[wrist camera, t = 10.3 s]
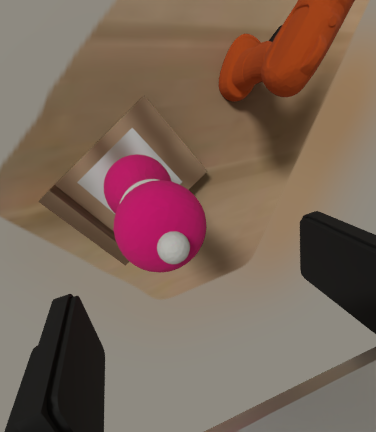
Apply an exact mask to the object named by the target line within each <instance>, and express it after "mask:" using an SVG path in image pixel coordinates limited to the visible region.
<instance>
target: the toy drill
mask: <svg viewBox="0 0 376 432" xmlns="http://www.w3.org/2000/svg"><path fill="white" fill-rule="evenodd" d="M354 1H355V0H298V2H297V3H296V5H295V7H294V8H293V10H292V11H291V13H290V14H289V16H288V17H287V19H286V21H285V22H284V24H283V25H281V26H280V27H279V28H278V29H277V30H276V32H275V33H274V34H273V36H272V37H271V39H270V40H269V41H266V42H263V43H261V42H260V41H259V40H258V39H257V38H256V37H254V36H252V35H250V34H243V35H241V36H239V37H238V38H237V39H236V40H235V41H234V42H233V44H232V45H231V47H230V49H229V51H228V53H227V55H226V57H225V60H224V62H223V65H222V69H221V72H220V77H219V90H220V92H221V94H222V96H223V97H224V98H226V99H227V100H229V101H240V100H242V99H244V98H245V97H246V96H247V95H248V94H249V93H250V92H251V90H252V89H253V87H254V85H255V84H257V83H259V82H264V84H265V86H266V88H267V89H268V90H269V91H270V92H272V93H273V94H275V95H277V96H280V97H290V96H293V95H295V94H297V93H298V92H300V91H301V90H302V89H303V88H304V86H305V85H306V84H307V82H308V81H309V80H310V78H311V77H312V76H313V74H314V73H315V71H316V70H317V68H318V66H319V65H320V63H321V61H322V60H323V58H324V56H325V55H326V53H327V51H328V49H329V48H330V46H331V44H332V42H333V40H334V38H335V36H336V34H337V33H338V31H339V29H340V27H341V25H342V23H343V21H344V19H345V17H346V15H347V14H348V12H349V10H350V8H351V6H352V4H353V2H354Z"/></svg>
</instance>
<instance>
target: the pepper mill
mask: <svg viewBox="0 0 376 432" xmlns="http://www.w3.org/2000/svg"><path fill="white" fill-rule="evenodd" d="M104 195H105V198H106V201H107V204H108V205H109V207H110V208H111V210H112V211H113V212H114V213H115V218H114V229H113V230H114V235H115V239H116V242H117V245H118V247H119V249H120V251H121V252H122V254H123V255H124V256H125V257H126V259H127V260H128V261H130V262H131V263H132V264H134V265H135V266H137V267H139V268H141V269H143V270H147V271H151V272H169V271H172V270H175V269H178V268H180V267H182V266H183V265H185V264H186V263H188V262H189V261H190V260H191V259H192V258H193V257H195V255H196V254H197V252H198V251H199V249H200V247H201V246H202V244H203V241H204V238H205V233H206V219H205V213H204V211H203V208H202V206H201V204H200V203H199V201H198V200H197V198H196V197H195V196H194V195H193V194H192V193H191V192H190V191H189V190H188V189H186V188H185V187H183V186H181V185H179V184H177V183H174V182H172V181H171V178H170V175H169V173H168V172H167V170H166V169H165V168H164V167H163V165H162V164H161V163H159V162H158V161H157V160H155V159H154V158H152V157H149V156H146V155H139V154H135V155H129V156H125V157H123V158H121V159H119V160H118V161H116V162H115V163H114V164H113V165H112V166H111V167H110V169H109V170H108V172H107V174H106V176H105V179H104Z"/></svg>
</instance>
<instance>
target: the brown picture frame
mask: <svg viewBox="0 0 376 432" xmlns="http://www.w3.org/2000/svg"><path fill="white" fill-rule="evenodd" d="M135 154H139V155H146V156H149V157H152V158H154V159H155V160H157V161H158V162H159V163H161V164H162V165H163V167H164V168H165V169H166V170H167V172H168V173H169V175H170V178H171V181H172V182H174V183H177V184H179V185H181V186H183V187H185V188H186V189H188V190H189V189H190V188H191V187H192V186H193V185H194V184H195V183H196V182H197V181H198V180H199V179H200V178H201V177H202V176H203V175H204V174H205V173H206V172H207V170H206V169H205V167H204V166H203V165H202V164H201V163H200V161H199V160H198V159H197V158H196V157H195V155H194V154H193V153H192V152H191V151H190V149H189V148H188V147H187V146H186V145H185V143H184V142H183V141H182V140H181V139H180V138H179V136H178V135H177V134H176V133H175V132H174V130H173V129H172V128H171V127H170V126H169V124H168V123H167V122H166V121H165V120H164V118H163V117H162V116H161V115H160V114H159V112H158V111H157V110H156V109H155V108H154V106H153V105H152V104H151V103H150V102H149V100H148V99H147V98H146V97H145V96H143V97H142V98H141V99H140V100H139V101H138V102H137V103H136V104H135V105H134V106H133V107H132V108H131V109H130V110H129V111H128V112H127V113H126V114H125V115H124V116H123V117H122V118H121V119H120V120H119V121H118V122H117V123H116V124H115V125H114V126H113V127H112V128H111V129H110V130H109V131H108V132H107V133H106V134H105V135H104V136H103V137H102V138H101V139H100V140H99V141H98V142H97V143H96V144H95V145H94V146H93V147H92V148H91V149H90V150H89V151H88V152H87V153H86V154H85V155H84V156H83V157H82V158H81V159H80V160H79V161H78V162H77V163H76V164H75V165H74V166H73V167H72V168H71V169H70V170H69V171H68V172H67V173H66V174H65V175H64V176H63V177H62V178H61V179H60V180H59V181H58V182H57V183H56V184H55V185H54V186H53V187H52V188H51V189H50V190H49V191H48V192H47V193H46V194H45V195H44V196H43V197H42V198H41V199H40V200H39V202H40V203H41V204H42V205H44V206H45V207H47V208H48V209H49V210H51V211H52V212H53V213H55V214H56V215H57V216H59V217H60V218H62V219H63V220H64V221H66V222H67V223H68V224H70V225H71V226H72V227H74V228H75V229H76V230H78V231H79V232H81V233H82V234H83V235H85V236H86V237H87V238H89V239H90V240H91V241H93V242H94V243H96V244H97V245H98V246H100V247H101V248H102V249H104V250H105V251H106V252H108V253H109V254H111V255H112V256H113V257H115V258H116V259H117V260H119V261H120V262H121V263H123V264H124V265H126V264H127V263H128V262H129V261H128V260H127V259H126V257H125V256H124V255H123V254H122V252H121V251H120V249H119V247H118V245H117V242H116V239H115V235H114V230H113V229H114V218H115V213H114V212H113V211H112V210H111V208H110V207H109V205H108V204H107V201H106V198H105V195H104V179H105V176H106V174H107V172H108V170H109V169H110V167H111V166H112V165H113V164H114V163H115V162H116V161H118V160H119V159H121V158H123V157H125V156H129V155H135Z"/></svg>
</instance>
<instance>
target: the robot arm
mask: <svg viewBox="0 0 376 432" xmlns="http://www.w3.org/2000/svg"><path fill="white" fill-rule="evenodd" d="M300 264H301V266H300V267H301V274H302V276H303V277H304V278H305V279H306V280H307V281H309V282H310V283H311V284H313V285H314V286H315V287H316V288H318V289H319V290H320V291H322V292H323V293H324V294H325V295H327V296H328V297H329V298H330V299H332V300H333V301H334V302H335V303H337V304H338V305H339V306H341V307H342V308H343V309H344V310H346V311H347V312H348V313H349V314H351V315H352V316H353V317H355V318H356V319H357V320H358V321H360V322H361V323H362V324H364V325H365V326H366V327H367V328H369V329H370V330H371V331H373V332H374V333H375V334H376V235H374V234H372V233H369V232H367V231H365V230H362V229H360V228H357V227H355V226H353V225H350V224H348V223H345V222H343V221H340V220H338V219H336V218H333V217H331V216H328V215H326V214H324V213H321V212H318V211H316V212H312V213H309V214H306V215H304V216H303V218H302V220H301V221H300ZM104 386H105V353H104V349H103V346H102V344H101V342H100V340H99V338H98V336H97V333H96V331H95V329H94V327H93V325H92V323H91V321H90V319H89V317H88V314H87V312H86V310H85V308H84V306H83V304H82V302H81V300H80V298H79V296H75V297H73V295H72V294H68V295H65V296H62V297H60V298H56V299H54V300H53V301H52V304H51V307H50V310H49V314H48V316H47V320H46V323H45V326H44V329H43V332H42V335H41V338H40V341H39V345H38V346H36V347H35V348H34V349H33V351H32V353H31V355H30V358H29V361H28V364H27V367H26V370H25V373H24V376H23V379H22V382H21V385H20V388H19V391H18V394H17V396H16V399H15V403H14V406H13V408H12V411H11V414H10V417H9V420H8V423H7V426H6V429H5V432H104ZM205 432H376V347H375V348H373V349H370V350H368V351H366V352H364V353H362V354H360V355H358V356H356V357H354V358H352V359H350V360H348V361H346V362H344V363H342V364H340V365H338V366H336V367H334V368H331V369H330V370H327V371H325V372H323V373H321V374H319V375H317V376H315V377H313V378H311V379H309V380H307V381H305V382H303V383H301V384H299V385H297V386H295V387H293V388H291V389H289V390H287V391H285V392H283V393H281V394H279V395H277V396H275V397H273V398H271V399H269V400H267V401H265V402H263V403H261V404H259V405H257V406H255V407H253V408H251V409H249V410H247V411H245V412H243V413H241V414H239V415H237V416H235V417H233V418H231V419H229V420H227V421H225V422H223V423H221V424H219V425H217V426H215V427H213V428H211V429H209V430H207V431H205Z"/></svg>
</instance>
